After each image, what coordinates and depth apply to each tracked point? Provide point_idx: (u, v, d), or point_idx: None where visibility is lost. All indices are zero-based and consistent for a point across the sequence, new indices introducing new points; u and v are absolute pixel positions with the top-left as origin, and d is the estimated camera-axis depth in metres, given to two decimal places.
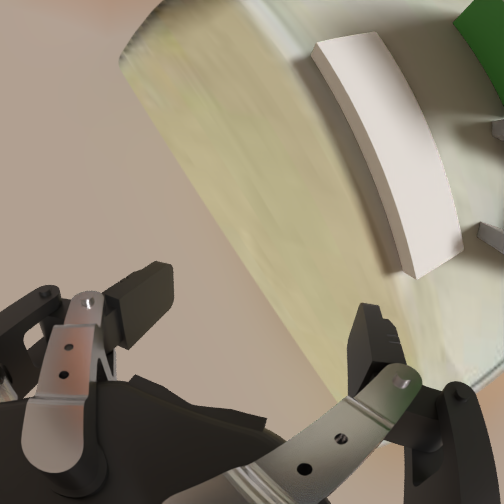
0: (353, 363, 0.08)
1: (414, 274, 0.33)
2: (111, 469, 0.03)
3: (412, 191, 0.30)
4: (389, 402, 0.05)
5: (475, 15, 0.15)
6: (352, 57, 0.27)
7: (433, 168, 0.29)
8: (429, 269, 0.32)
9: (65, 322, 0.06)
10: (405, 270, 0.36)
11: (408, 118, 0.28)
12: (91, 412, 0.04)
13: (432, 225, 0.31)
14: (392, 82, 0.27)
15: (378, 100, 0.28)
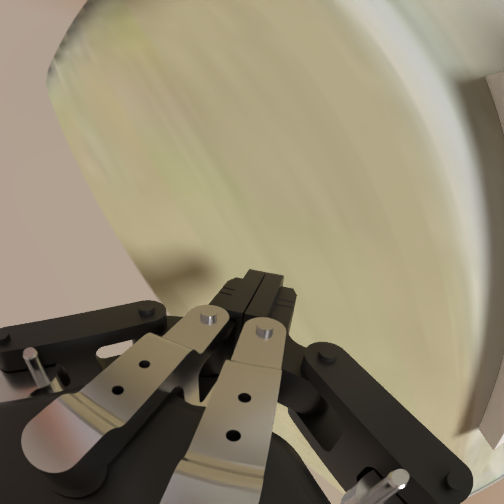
0: None
1: (493, 446, 0.13)
2: (111, 469, 0.03)
3: None
4: (264, 353, 0.06)
5: None
6: None
7: None
8: None
9: (169, 332, 0.07)
10: (483, 432, 0.16)
11: None
12: None
13: None
14: None
15: None
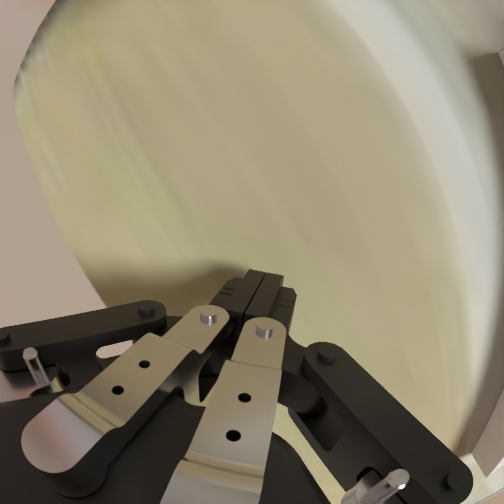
0: None
1: (487, 473, 0.11)
2: (111, 469, 0.03)
3: None
4: (265, 353, 0.06)
5: None
6: None
7: None
8: None
9: (169, 332, 0.07)
10: (476, 458, 0.13)
11: None
12: None
13: None
14: None
15: None
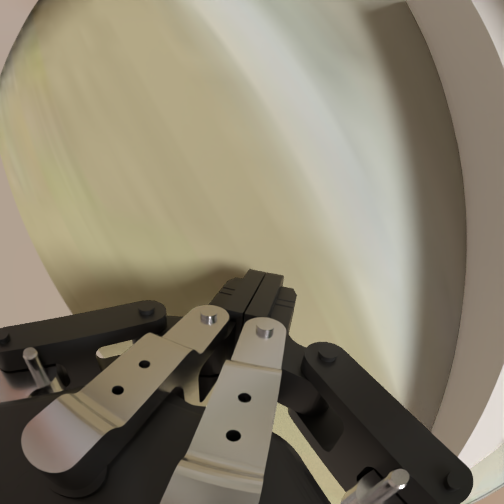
0: None
1: None
2: (111, 469, 0.03)
3: None
4: (265, 353, 0.06)
5: None
6: None
7: None
8: None
9: (169, 332, 0.07)
10: None
11: None
12: None
13: (499, 430, 0.10)
14: None
15: None
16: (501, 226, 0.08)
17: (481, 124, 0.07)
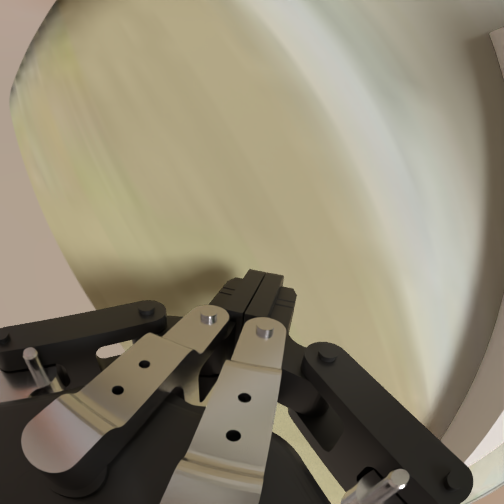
0: None
1: None
2: (111, 469, 0.03)
3: None
4: (265, 353, 0.06)
5: None
6: None
7: None
8: (471, 464, 0.12)
9: (169, 332, 0.07)
10: None
11: None
12: None
13: None
14: None
15: None
16: None
17: None
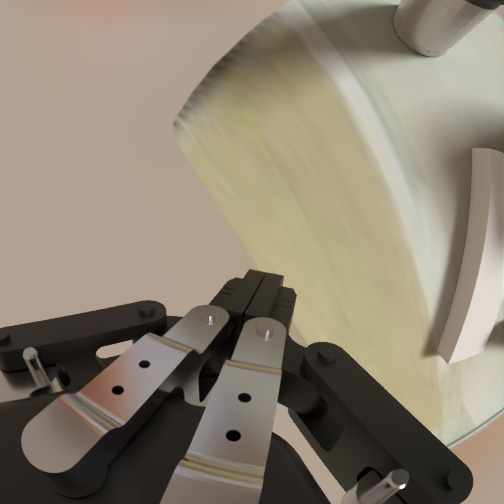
0: None
1: (448, 360, 0.34)
2: (111, 469, 0.03)
3: (481, 302, 0.30)
4: (264, 353, 0.06)
5: None
6: (503, 177, 0.24)
7: (500, 289, 0.30)
8: (458, 359, 0.34)
9: (169, 332, 0.07)
10: (440, 352, 0.37)
11: None
12: None
13: (477, 329, 0.32)
14: None
15: (500, 223, 0.26)
16: (478, 230, 0.28)
17: (479, 199, 0.28)
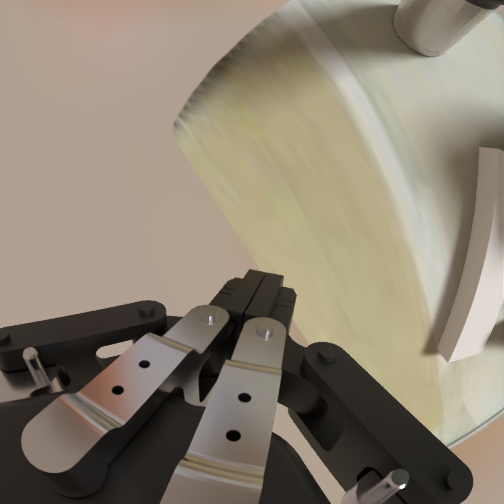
0: None
1: (448, 358, 0.34)
2: (111, 469, 0.03)
3: (483, 300, 0.30)
4: (264, 353, 0.06)
5: None
6: None
7: (501, 289, 0.30)
8: (458, 358, 0.34)
9: (169, 332, 0.07)
10: (440, 350, 0.37)
11: None
12: None
13: (478, 328, 0.32)
14: None
15: None
16: (483, 228, 0.28)
17: (484, 198, 0.27)
